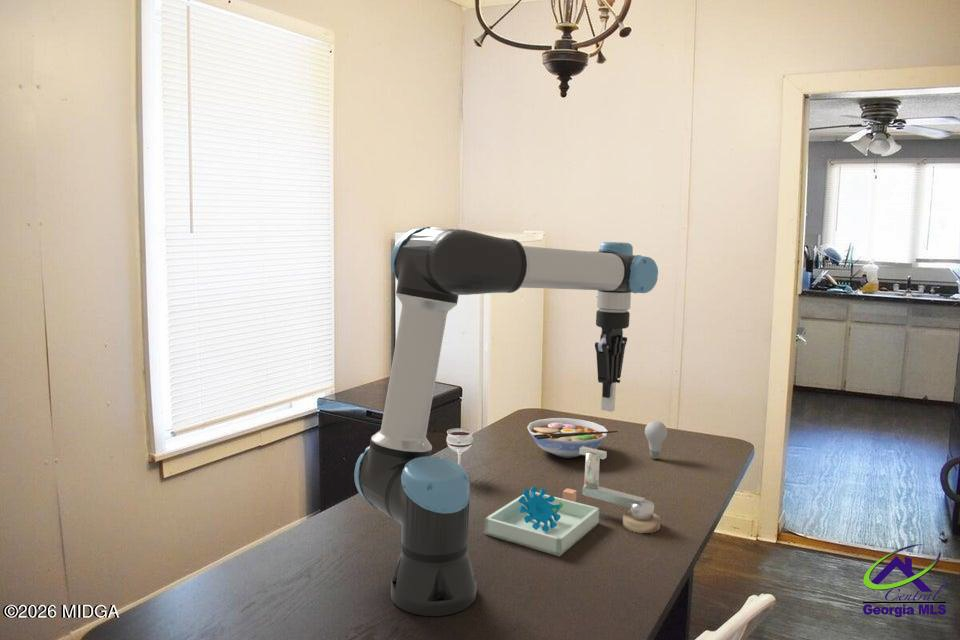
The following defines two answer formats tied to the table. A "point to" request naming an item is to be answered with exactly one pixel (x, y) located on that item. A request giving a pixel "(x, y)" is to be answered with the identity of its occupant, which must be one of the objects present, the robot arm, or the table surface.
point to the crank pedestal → (641, 524)
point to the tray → (555, 540)
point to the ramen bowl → (567, 435)
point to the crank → (638, 505)
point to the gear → (540, 509)
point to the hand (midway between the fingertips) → (607, 410)
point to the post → (569, 495)
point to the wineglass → (459, 440)
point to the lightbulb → (655, 437)
